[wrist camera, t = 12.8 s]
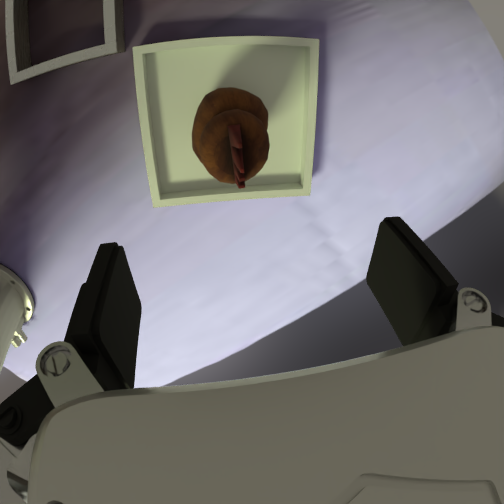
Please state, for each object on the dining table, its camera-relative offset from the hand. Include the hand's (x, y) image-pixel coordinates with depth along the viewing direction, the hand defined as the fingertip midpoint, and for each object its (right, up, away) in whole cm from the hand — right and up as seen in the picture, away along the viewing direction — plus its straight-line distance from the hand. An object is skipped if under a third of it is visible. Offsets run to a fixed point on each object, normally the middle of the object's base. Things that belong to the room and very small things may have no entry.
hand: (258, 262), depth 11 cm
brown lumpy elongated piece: (-3, +13, +16) cm, 21 cm away
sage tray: (-3, +13, +17) cm, 22 cm away
